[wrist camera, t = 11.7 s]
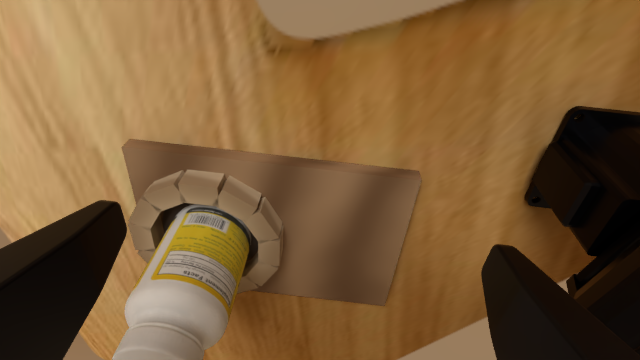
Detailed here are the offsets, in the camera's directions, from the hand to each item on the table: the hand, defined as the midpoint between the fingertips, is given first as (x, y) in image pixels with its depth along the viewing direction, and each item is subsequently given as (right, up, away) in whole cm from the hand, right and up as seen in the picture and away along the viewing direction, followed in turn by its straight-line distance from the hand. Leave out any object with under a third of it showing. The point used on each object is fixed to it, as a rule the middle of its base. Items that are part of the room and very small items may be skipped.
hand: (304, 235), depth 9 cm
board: (-3, -2, +18) cm, 18 cm away
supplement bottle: (-7, -2, +17) cm, 18 cm away
